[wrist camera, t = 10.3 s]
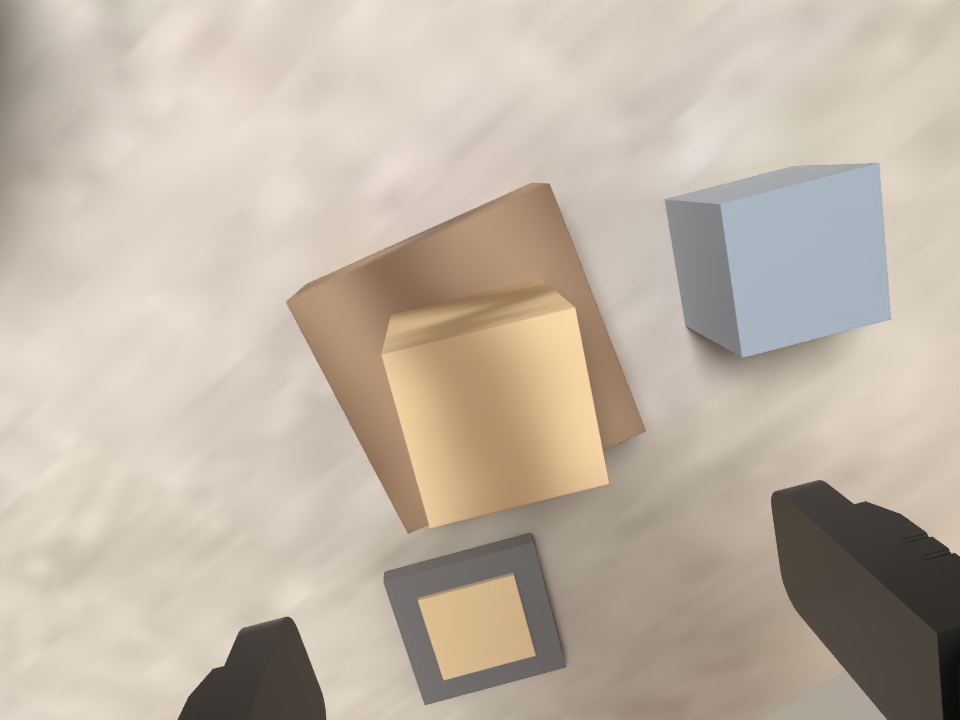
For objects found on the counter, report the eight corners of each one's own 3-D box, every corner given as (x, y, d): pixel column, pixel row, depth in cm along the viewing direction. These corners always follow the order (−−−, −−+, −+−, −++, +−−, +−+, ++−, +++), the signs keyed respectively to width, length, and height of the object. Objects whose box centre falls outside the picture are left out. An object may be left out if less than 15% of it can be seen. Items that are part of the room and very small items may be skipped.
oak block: (541, 278, 24) (575, 307, 19) (570, 419, 25) (609, 483, 20) (390, 315, 24) (381, 354, 18) (428, 454, 25) (430, 528, 20)
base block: (530, 183, 27) (549, 183, 23) (614, 394, 30) (645, 431, 26) (308, 282, 28) (286, 302, 23) (410, 483, 30) (408, 533, 26)
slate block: (792, 166, 28) (878, 163, 22) (806, 293, 29) (891, 319, 24) (664, 199, 28) (720, 203, 22) (685, 325, 29) (742, 358, 24)
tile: (530, 533, 31) (534, 544, 30) (562, 655, 33) (567, 670, 32) (384, 571, 31) (383, 584, 30) (425, 692, 33) (424, 708, 32)
